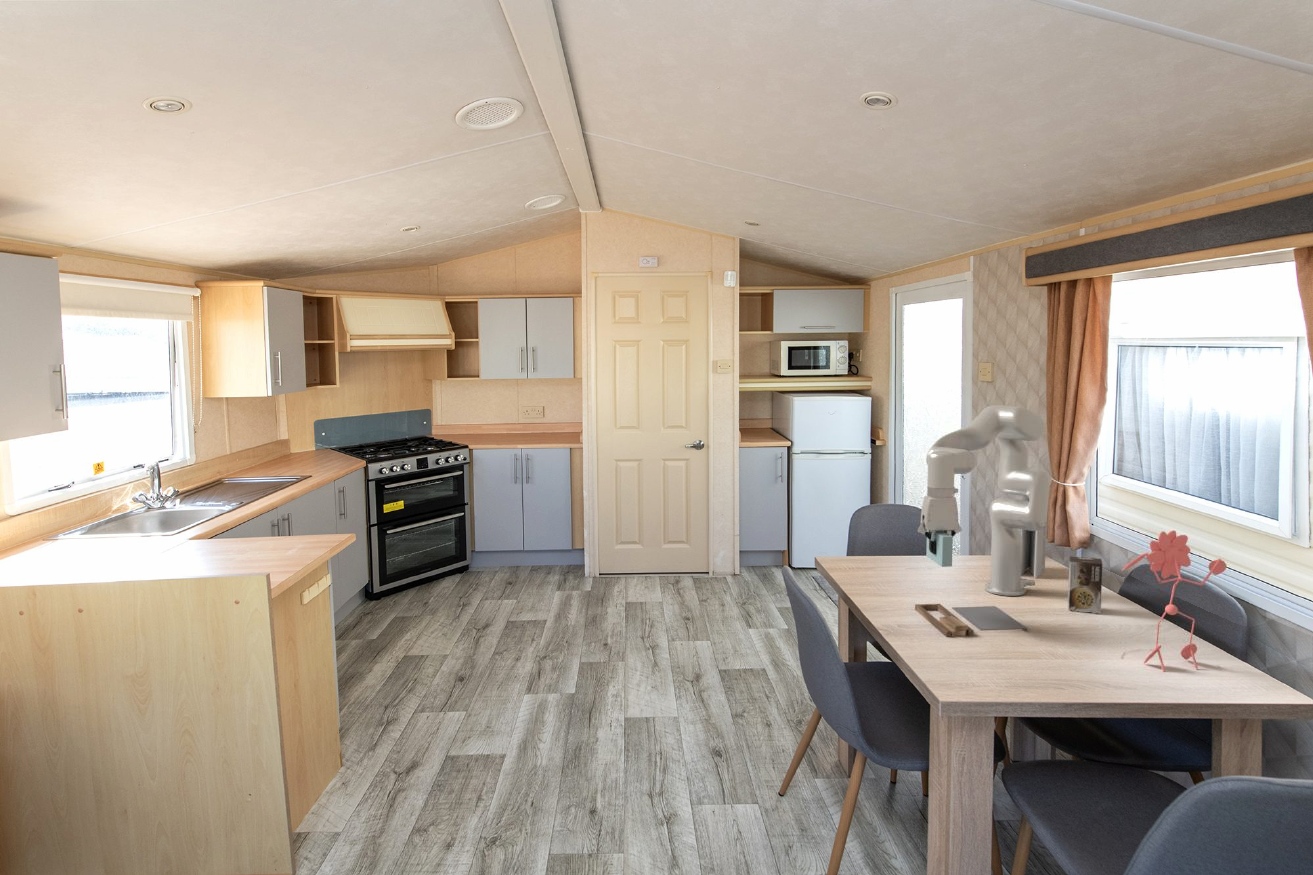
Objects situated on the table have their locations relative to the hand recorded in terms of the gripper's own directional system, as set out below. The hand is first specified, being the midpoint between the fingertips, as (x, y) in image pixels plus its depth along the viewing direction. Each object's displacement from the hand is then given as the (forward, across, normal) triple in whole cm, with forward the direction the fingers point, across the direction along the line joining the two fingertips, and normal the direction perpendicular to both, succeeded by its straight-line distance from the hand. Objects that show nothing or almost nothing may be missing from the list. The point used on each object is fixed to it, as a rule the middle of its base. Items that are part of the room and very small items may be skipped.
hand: (939, 552), depth 247 cm
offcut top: (+19, 0, +12) cm, 22 cm away
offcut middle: (+20, +1, +12) cm, 24 cm away
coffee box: (+22, -49, -5) cm, 53 cm away
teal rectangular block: (+3, 0, 0) cm, 3 cm away
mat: (+21, -15, +2) cm, 26 cm away
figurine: (+21, -46, +36) cm, 62 cm away
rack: (+21, 0, +4) cm, 21 cm away
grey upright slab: (+22, -54, -46) cm, 74 cm away
